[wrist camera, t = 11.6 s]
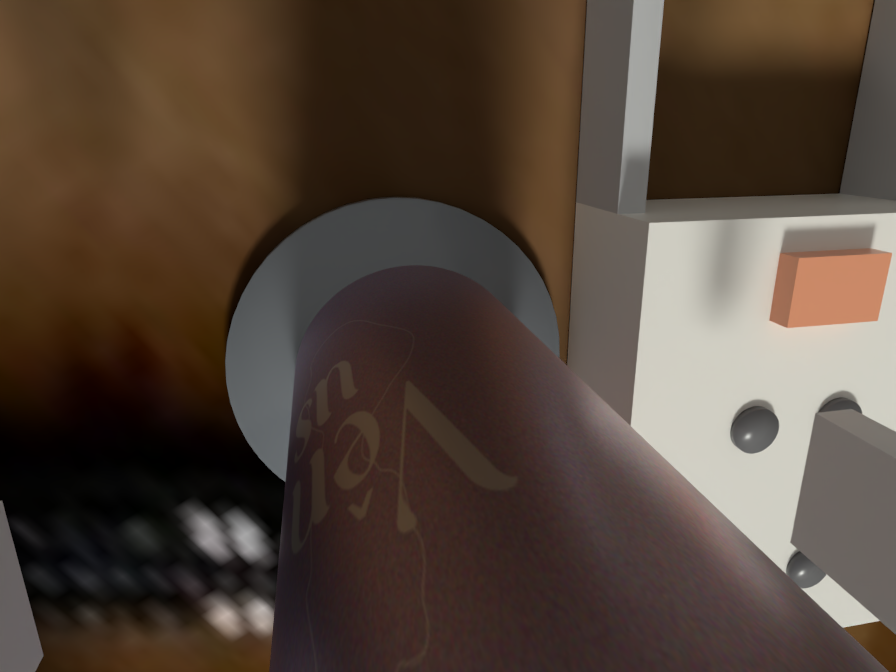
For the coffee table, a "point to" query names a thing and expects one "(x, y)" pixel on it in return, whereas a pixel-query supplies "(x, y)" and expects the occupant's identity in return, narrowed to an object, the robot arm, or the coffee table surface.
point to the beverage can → (503, 512)
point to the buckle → (733, 294)
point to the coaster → (343, 262)
